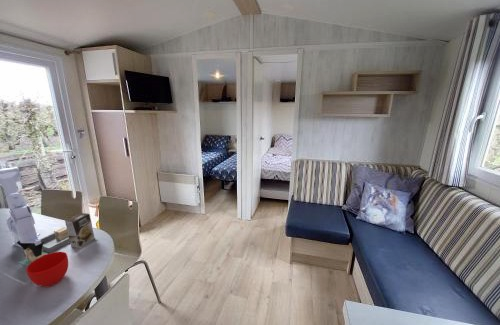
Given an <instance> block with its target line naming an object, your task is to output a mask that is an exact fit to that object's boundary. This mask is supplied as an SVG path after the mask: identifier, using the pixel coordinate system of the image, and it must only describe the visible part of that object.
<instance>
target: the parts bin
mask: <svg viewBox="0 0 500 325" xmlns="http://www.w3.org/2000/svg"><path fill="white" fill-rule="evenodd" d="M39 240H41V241H44V244H43V246H42V250H43V251H44V252H46V253H53V252H55V251H56V250H58V249H59V248H62V247H63V246H65V245H68V244H70V240H69V238H67V239H65V240H63V241H61V242H60V241H57V240H56V237H55V234H54V232H53V233H50V234H48V235H46V236H43V237H42V238H39Z"/></svg>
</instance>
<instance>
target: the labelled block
mask: <svg viewBox="0 0 500 325" xmlns="http://www.w3.org/2000/svg"><path fill="white" fill-rule="evenodd" d="M23 252H24V255H25V257H26V259H27V260H28V261H30V262H33V261H34V260H36V259H38V258H40V257H42V256H43V255H44V254H43V252H44V250H42V255H40V256H38V257H35V256H34V254H33V252H32V251H31V250H30V249H29V248H28V249H26V250H24V249H23Z"/></svg>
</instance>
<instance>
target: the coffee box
mask: <svg viewBox="0 0 500 325" xmlns="http://www.w3.org/2000/svg"><path fill="white" fill-rule="evenodd" d="M64 223H65V227H66V228H67V232H68V235H69V240H70V242H69V244H70V247H72V248H82V247H83V246H85V245H86V244H88V243H90V242H91V241H93V240H94V239H95V237H96V236H95V233H94V229H93V224H92V219H91V215H90V213H84V212H80V213H78V214H76V215H73V216H71V217H69V218H68V219H65V220H64Z"/></svg>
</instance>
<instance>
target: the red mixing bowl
mask: <svg viewBox="0 0 500 325" xmlns="http://www.w3.org/2000/svg"><path fill="white" fill-rule="evenodd" d="M68 268H69V259H68V253H67V252H65V251H53V252H49V253H48V254H47V255H46V254H45V255H43V256H42V257H40V258H38V259H36V260H34V261H33V262H32V263H30V264H29V265H28V267H27V266H26V268H25V269H26V270H25V272H26V275H27V276H28V278H29V279H30V282H32V284H35V285H36V286H40V287H45V288H48V287H53V286H54V285H55V286H56V284H58V283H60V282H61V281H62V280H63V279H64V277H65V275H66V274H67V271H68Z"/></svg>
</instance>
